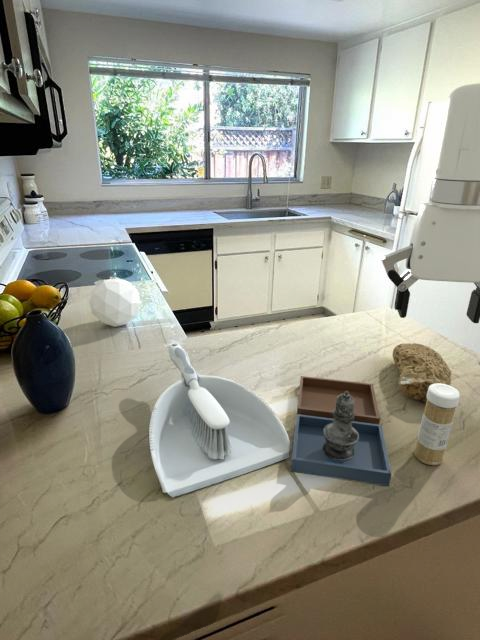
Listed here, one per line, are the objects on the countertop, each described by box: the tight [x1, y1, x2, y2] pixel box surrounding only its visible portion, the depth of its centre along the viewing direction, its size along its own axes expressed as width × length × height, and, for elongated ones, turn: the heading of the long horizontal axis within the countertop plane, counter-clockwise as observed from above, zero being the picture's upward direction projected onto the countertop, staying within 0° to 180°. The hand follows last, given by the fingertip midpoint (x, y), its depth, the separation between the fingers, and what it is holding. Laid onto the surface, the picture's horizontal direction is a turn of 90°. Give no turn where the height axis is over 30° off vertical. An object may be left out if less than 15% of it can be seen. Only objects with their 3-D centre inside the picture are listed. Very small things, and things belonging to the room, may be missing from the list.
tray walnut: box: [296, 375, 381, 425], centre depth 81 cm, size 15×12×2 cm
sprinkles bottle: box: [413, 383, 461, 466], centre depth 66 cm, size 5×5×14 cm
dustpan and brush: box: [148, 342, 292, 499], centre depth 75 cm, size 23×33×10 cm
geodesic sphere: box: [88, 275, 141, 328], centre depth 115 cm, size 15×14×14 cm
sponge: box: [391, 342, 452, 403], centre depth 90 cm, size 13×8×20 cm
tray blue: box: [290, 413, 392, 487], centre depth 69 cm, size 15×12×2 cm
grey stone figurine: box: [323, 391, 359, 461], centre depth 67 cm, size 6×6×12 cm
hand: (436, 317), depth 58 cm, fingers open, 9 cm apart
